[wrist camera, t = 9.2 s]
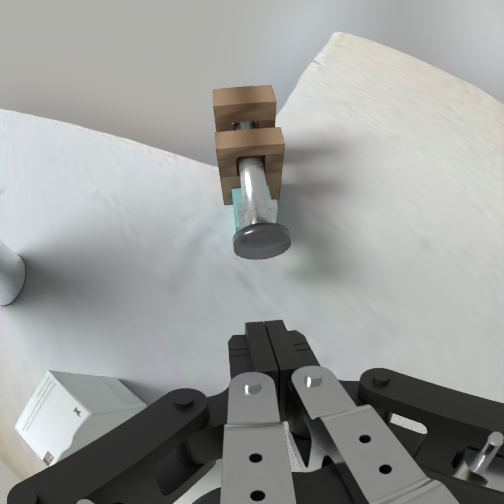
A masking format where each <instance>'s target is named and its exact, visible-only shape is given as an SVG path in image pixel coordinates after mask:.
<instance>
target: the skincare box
mask: <svg viewBox="0 0 504 504" xmlns="http://www.w3.org/2000/svg"><path fill="white" fill-rule="evenodd" d="M146 407H148V406H147V405H146V404H145V403H144V402H143V401H142V400H140V399H139V398H138V397H137V396H136V395H135V394H133V393H132V392H131V391H130V390H129V389H128V388H127V387H125V386H124V385H123V384H122V383H121V382H120V381H119V380H118V379H116V378H115V377H104V376H93V375H83V374H74V373H66V372H58V371H51V370H48V371H47V372H46V374H45V376H44V377H43V379H42V381H41V382H40V384H39V385H38V387H37V389H36V390H35V392H34V394H33V396H32V397H31V399H30V401H29V402H28V404H27V406H26V408H25V409H24V411H23V413H22V415H21V416H20V418H19V420H18V422H17V424H16V425H15V428H16V429H17V431H18V432H19V433H20V435H21V436H22V437H23V438H24V440H25V441H26V442H27V443H28V444H29V446H30V447H31V448H32V449H33V450H34V451H35V453H36V454H37V455H38V456H39V457H40V458H41V459H42V460H43V461H44V462H45V463H46V464H47V466H48V467H50V466H52V465H53V464H55V463H57V462H59V461H61V460H62V459H64V458H66V457H68V456H69V455H71V454H73V453H74V452H76V451H78V450H80V449H81V448H83V447H85V446H86V445H88V444H90V443H91V442H93V441H95V440H96V439H98V438H99V437H101V436H103V435H104V434H106V433H108V432H109V431H111V430H112V429H114V428H116V427H117V426H119V425H120V424H122V423H123V422H125V421H127V420H128V419H130V418H131V417H133V416H134V415H136V414H137V413H139V412H140V411H142V410H143V409H145V408H146Z"/></svg>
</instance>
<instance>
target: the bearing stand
mask: <svg viewBox="0 0 504 504" xmlns="http://www.w3.org/2000/svg"><path fill="white" fill-rule="evenodd" d="M213 108H214V115H215V124H216V132H215V139H216V153H217V160H218V167H219V174H220V181H221V187H222V194H223V201H224V205H227V204H233V198H232V189H238V188H241V181H240V172H239V163H238V157H244V156H255V155H261V156H262V161H263V167H264V173H265V178H266V184H267V186H268V185H269V191H270V196H271V200H279V195H280V186H281V176H282V166H283V156H284V146H285V143H284V139H283V135H282V131H281V127H275V118H276V98H275V95H274V92H273V88H272V85H264V86H247V87H234V88H223V89H214V90H213ZM249 121H256V122H255V123H256V128H257V129H246V130H235V128H234V124H232V123H237V122H249Z"/></svg>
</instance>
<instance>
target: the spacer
mask: <svg viewBox="0 0 504 504" xmlns="http://www.w3.org/2000/svg"><path fill="white" fill-rule="evenodd" d="M267 190H268V196H269V200H271V196H270V191H269V185H268V186H267ZM232 198H233V208H234V217H235V226H236V232H237V231H239V221H238V210H237V203H243V199H242V190H241V188H238V189H232Z"/></svg>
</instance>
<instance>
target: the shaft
mask: <svg viewBox="0 0 504 504" xmlns="http://www.w3.org/2000/svg"><path fill="white" fill-rule="evenodd" d="M234 128H235V130H246V129H257V128H256V123H255V121H249V122H237V123H234ZM238 163H239V172H240V181H241V190H242V199H243V203H237V210H238V221H239V231H237V232H236V233H235V235H234V236H233V246H234V252H235V254H236V255H238V256H240V257H242V258H245V259H255V260H256V259H267V258H271V257H275V256H277V255H280V254H282V253H284V252H285V251H286V250H288V248H289V247H290V245H291V241H290V236H289V231H288V229H287V228H286V227H284V226H283V225H280V224H277V223H276V220H277V211H278V205H277V200H269V196H268V190H267V184H266V178H265V173H264V167H263V161H262V156H261V155H255V156H244V157H238Z"/></svg>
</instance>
